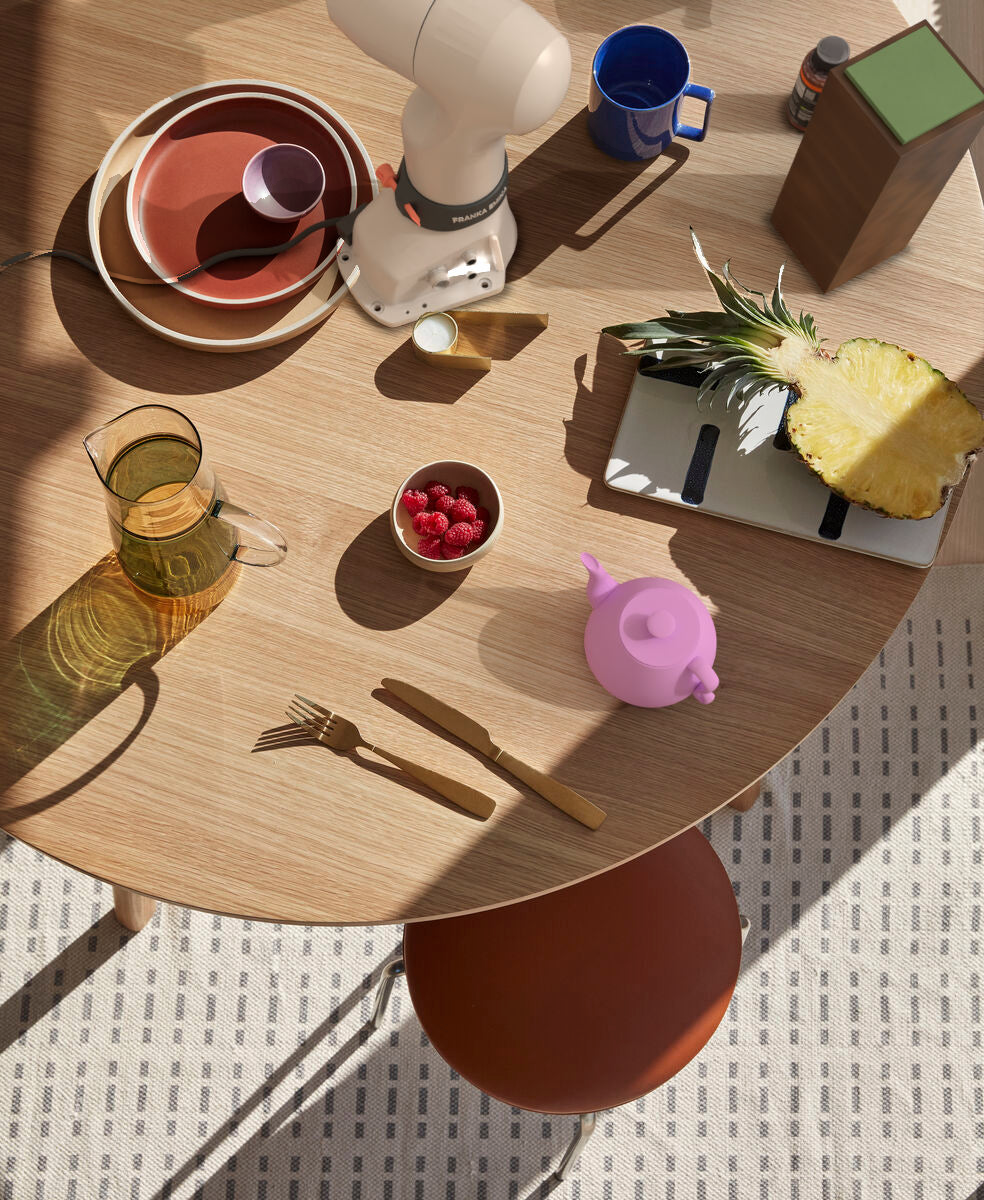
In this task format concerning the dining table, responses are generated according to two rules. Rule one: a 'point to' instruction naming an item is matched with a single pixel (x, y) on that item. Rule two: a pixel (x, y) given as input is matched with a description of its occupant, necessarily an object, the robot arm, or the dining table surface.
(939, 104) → the green mat
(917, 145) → the walnut stand
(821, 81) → the supplement bottle
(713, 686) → the teapot
